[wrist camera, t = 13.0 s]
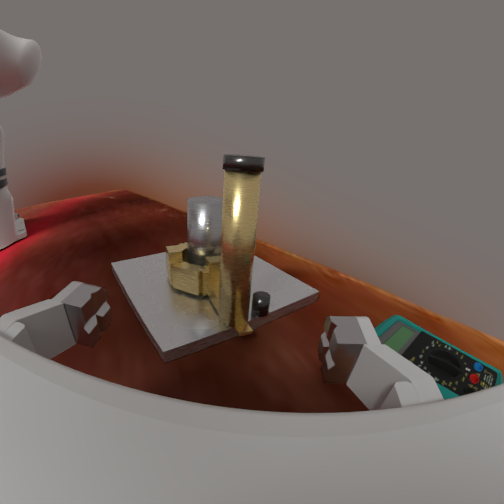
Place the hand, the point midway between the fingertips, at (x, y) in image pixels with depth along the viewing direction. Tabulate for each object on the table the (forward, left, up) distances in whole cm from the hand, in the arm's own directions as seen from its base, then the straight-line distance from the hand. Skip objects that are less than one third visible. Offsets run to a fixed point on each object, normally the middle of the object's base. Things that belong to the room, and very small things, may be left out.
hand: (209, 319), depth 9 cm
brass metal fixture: (-15, +9, -9) cm, 19 cm away
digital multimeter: (+7, +17, -11) cm, 21 cm away
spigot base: (-17, +10, -10) cm, 22 cm away
